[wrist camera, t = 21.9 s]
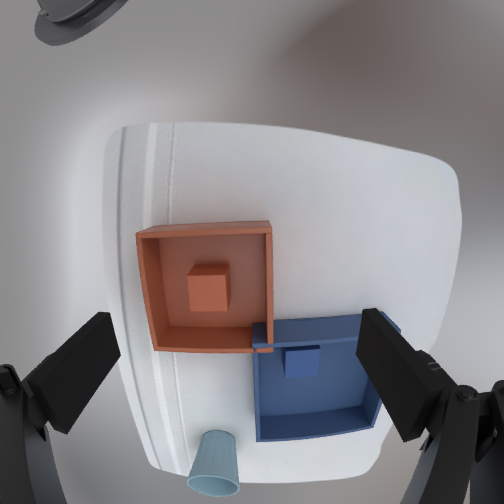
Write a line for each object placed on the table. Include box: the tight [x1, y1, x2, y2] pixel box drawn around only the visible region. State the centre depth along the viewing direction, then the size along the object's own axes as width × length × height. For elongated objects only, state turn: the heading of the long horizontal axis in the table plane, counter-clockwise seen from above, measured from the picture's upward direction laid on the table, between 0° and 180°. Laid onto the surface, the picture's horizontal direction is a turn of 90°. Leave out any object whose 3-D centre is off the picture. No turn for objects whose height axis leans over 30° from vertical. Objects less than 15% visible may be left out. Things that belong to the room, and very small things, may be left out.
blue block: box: [282, 345, 321, 379], centre depth 31 cm, size 4×4×4 cm
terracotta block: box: [186, 265, 231, 312], centre depth 29 cm, size 4×4×4 cm
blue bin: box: [252, 312, 401, 442], centre depth 32 cm, size 17×17×6 cm
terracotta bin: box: [136, 221, 273, 353], centre depth 29 cm, size 13×13×6 cm
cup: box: [187, 431, 240, 496], centre depth 33 cm, size 8×8×10 cm
